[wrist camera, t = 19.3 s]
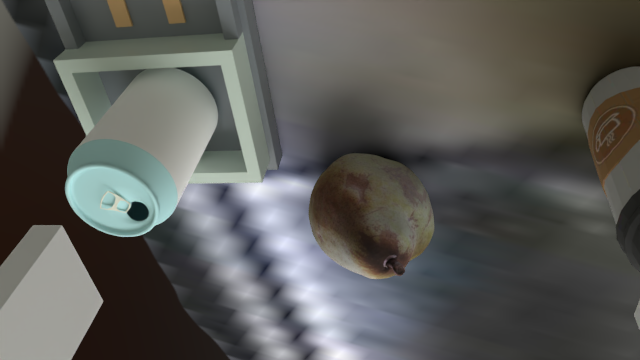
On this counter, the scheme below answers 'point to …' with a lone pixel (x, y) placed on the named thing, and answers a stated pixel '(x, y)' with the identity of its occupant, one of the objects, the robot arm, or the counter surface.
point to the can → (142, 153)
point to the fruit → (370, 215)
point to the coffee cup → (618, 151)
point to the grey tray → (181, 53)
